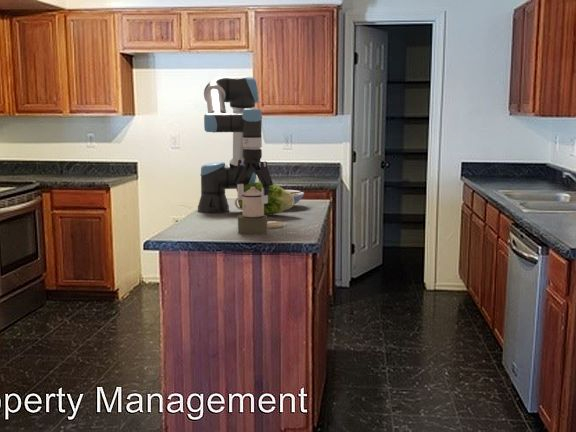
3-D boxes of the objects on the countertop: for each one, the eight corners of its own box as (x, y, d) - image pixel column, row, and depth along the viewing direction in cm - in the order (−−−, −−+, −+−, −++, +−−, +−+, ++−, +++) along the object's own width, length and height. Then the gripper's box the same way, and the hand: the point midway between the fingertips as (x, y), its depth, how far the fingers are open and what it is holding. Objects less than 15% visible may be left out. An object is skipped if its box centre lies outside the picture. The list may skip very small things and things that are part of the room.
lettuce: (292, 219, 281) (292, 185, 279) (234, 217, 285) (234, 183, 282) (296, 213, 296) (296, 181, 293) (241, 212, 300) (241, 180, 297)
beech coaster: (254, 226, 264) (254, 223, 264) (270, 223, 271) (270, 220, 271) (271, 229, 257) (271, 226, 257) (287, 226, 265) (287, 223, 264)
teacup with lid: (266, 213, 253) (265, 185, 251) (262, 218, 245) (262, 188, 242) (237, 213, 255) (236, 185, 253) (232, 217, 246) (232, 188, 244)
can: (231, 232, 252) (231, 215, 250) (256, 228, 259) (256, 212, 258) (248, 236, 242) (248, 219, 241) (273, 233, 250) (273, 216, 248)
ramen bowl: (283, 201, 333) (283, 186, 331) (314, 206, 317) (315, 190, 316) (248, 207, 315) (248, 191, 314) (280, 212, 299) (280, 195, 298)
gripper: (223, 147, 250) (224, 199, 254) (268, 150, 234) (268, 206, 237) (237, 146, 256) (237, 197, 259) (281, 149, 239) (281, 203, 243)
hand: (252, 201), depth 248 cm, fingers open, 13 cm apart
